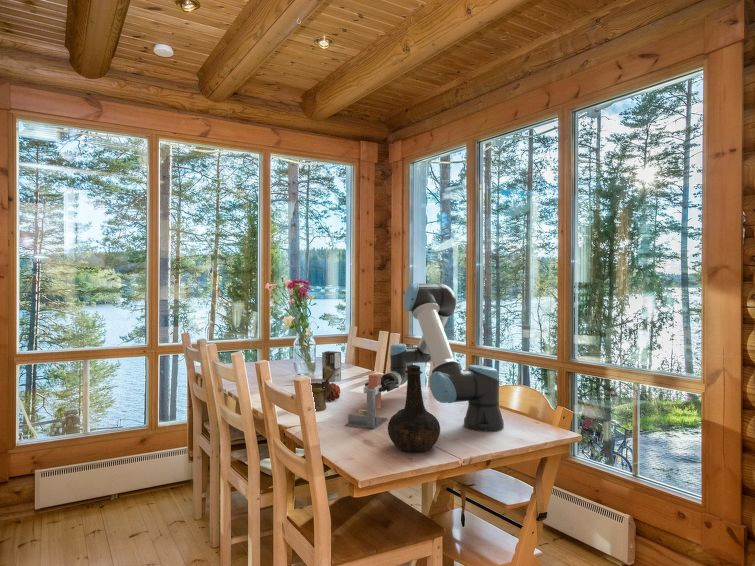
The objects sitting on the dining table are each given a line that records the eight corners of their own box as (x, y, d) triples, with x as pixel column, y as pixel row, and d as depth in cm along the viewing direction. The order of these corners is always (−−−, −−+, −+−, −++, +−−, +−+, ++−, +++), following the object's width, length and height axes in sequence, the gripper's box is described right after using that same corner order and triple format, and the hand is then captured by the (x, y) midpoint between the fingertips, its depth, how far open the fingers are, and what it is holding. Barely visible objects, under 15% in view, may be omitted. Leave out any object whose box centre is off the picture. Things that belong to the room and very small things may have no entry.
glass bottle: (421, 437, 188) (421, 359, 188) (451, 451, 172) (451, 367, 172) (378, 444, 179) (377, 363, 179) (405, 460, 164) (404, 371, 163)
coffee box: (341, 380, 294) (341, 351, 294) (334, 382, 289) (334, 353, 289) (328, 378, 299) (328, 350, 299) (321, 380, 294) (321, 352, 294)
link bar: (372, 405, 224) (372, 373, 224) (381, 406, 223) (380, 374, 222) (368, 407, 220) (368, 374, 220) (377, 408, 219) (377, 375, 219)
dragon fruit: (331, 406, 240) (329, 404, 252) (345, 394, 242) (342, 392, 254) (320, 391, 241) (318, 390, 252) (334, 380, 242) (332, 379, 254)
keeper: (360, 417, 215) (360, 381, 215) (387, 420, 211) (387, 383, 211) (344, 426, 202) (344, 388, 202) (372, 429, 197) (372, 390, 197)
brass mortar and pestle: (336, 411, 225) (336, 369, 225) (305, 412, 224) (304, 370, 224) (336, 406, 234) (335, 366, 234) (305, 407, 233) (305, 366, 233)
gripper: (408, 390, 235) (388, 401, 213) (373, 387, 241) (351, 398, 220) (408, 374, 234) (388, 383, 213) (373, 371, 241) (351, 380, 220)
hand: (369, 391), depth 216 cm, fingers closed on link bar, 4 cm apart
